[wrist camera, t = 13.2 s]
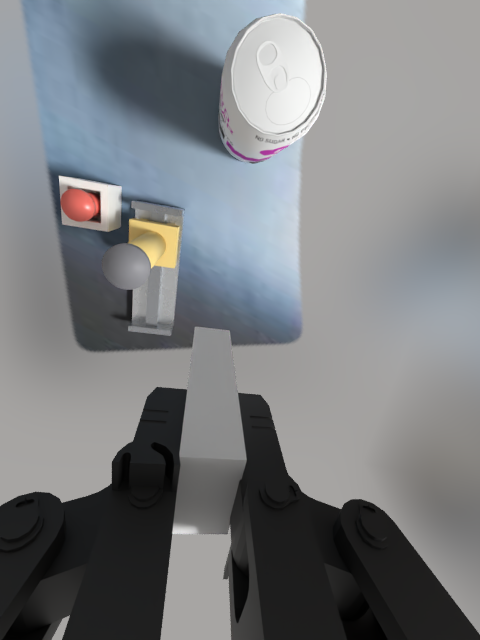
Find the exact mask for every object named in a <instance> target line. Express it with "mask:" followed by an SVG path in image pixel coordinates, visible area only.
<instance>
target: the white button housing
mask: <svg viewBox="0 0 480 640" xmlns="http://www.w3.org/2000/svg"><path fill="white" fill-rule="evenodd" d="M59 185H60V200H61V196H62V194H63V193H64V192H65V191H67V190H69V189H80V190H83V191H85V192H93V193H97V194H99V195H100V196H101V215H99V216H93V217H92V218H91V219H90V220H87V221H83V222H78V221H74V220H72V219H70V218H69V217H68V216H67V215H66V214H65V213H64V212H63V210H62V207H61V215H62V224H63V225H70V226H76V227H82V228H88V229H94V230H100V231H106V232H109V231H112V230H115V229H118V228H121V186H117V185H112V184H107V183H101V182H96V181H91V180H86V179H80V178H73V177H65V176H59Z"/></svg>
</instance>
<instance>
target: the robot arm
mask: <svg viewBox="0 0 480 640" xmlns="http://www.w3.org/2000/svg"><path fill="white" fill-rule="evenodd" d="M229 526H230V527H231V547H230V551H229V554H228V558H227V561H226V565H225V570H224V578H223V579H228V576H229V594H230V616H231V640H480V635H479V633H478V632H477V631H476V629H475V628H474V626H473V625H472V624H471V623H470V621H469V620H468V619H467V617H466V616H465V615H464V613H463V612H462V611H461V609H460V608H459V607H458V605H457V604H456V603H455V602H454V600H453V599H452V598H451V596H450V595H449V594H448V592H447V591H446V590H445V588H444V587H443V586H442V584H441V583H440V582H439V581H438V579H437V578H436V576H435V575H434V574H433V573H432V571H431V570H430V569H429V567H428V566H427V565H426V563H425V562H424V561H423V559H422V558H421V557H420V555H419V554H418V553H417V551H416V550H415V549H414V547H413V546H412V545H411V544H410V542H409V541H408V540H407V538H406V537H405V536H404V534H403V533H402V532H401V530H400V529H399V528H398V526H397V525H396V524H395V522H394V521H393V520H392V519H391V518H390V517H389V516H388V515H387V514H386V513H385V512H384V511H383V510H381V509H380V508H379V507H377V506H376V505H374V504H373V503H370V502H367V501H364V500H362V499H353V500H350V501H348V502H346V503H345V504H344V505H343V507H342V509H339V508H336V507H333V506H331V505H328V504H325V503H322V502H319V501H317V500H315V499H313V498H310V497H308V496H307V495H306V494H304V493H303V492H301V490H300V488H299V486H298V484H297V483H296V482H294V480H293V479H292V478H291V477H290V476H289V475H288V473H287V470H286V467H285V463H284V460H283V456H282V452H281V448H280V445H279V441H278V437H277V434H276V430H275V426H274V423H273V420H272V415H271V412H270V408H269V405H268V404H267V403H266V401H265V400H264V399H263V398H262V396H261V395H255V394H244V393H238V390H237V383H236V376H235V368H234V360H233V353H232V345H231V338H230V331H228V330H219V329H211V328H203V327H195V332H194V340H193V347H192V355H191V364H190V372H189V379H188V387H187V390H186V389H174V388H162V387H157V388H156V389H155V390H154V391H153V392H152V393H151V394H150V395H149V396H148V397H147V399H146V403H145V406H144V409H143V412H142V415H141V418H140V422H139V425H138V428H137V431H136V434H135V437H134V440H133V442H131V443H128V444H127V445H126V446H125V447H123V448H122V449H121V450H120V451H119V452H118V453H117V455H116V456H115V458H114V459H113V461H112V484H110V485H109V486H108V487H106V488H104V489H103V490H101V491H99V492H97V493H95V494H92V495H89V496H86V497H82V498H78V499H75V500H71V501H68V502H63V503H61V501H60V499H59V498H57V497H56V496H54V495H52V494H50V493H44V492H33V493H29V494H26V495H21V496H18V497H16V498H14V499H12V500H10V501H8V502H7V503H5V504H3V505H1V506H0V640H51V639H52V637H53V636H54V634H55V632H56V630H57V628H58V626H59V624H60V622H61V621H62V619H63V618H65V617H67V616H69V615H70V618H69V621H68V624H67V627H66V630H65V633H64V636H63V639H62V640H160V637H161V628H162V619H163V610H164V601H165V593H166V584H167V575H168V566H169V557H170V549H171V540H172V534H228V530H229Z"/></svg>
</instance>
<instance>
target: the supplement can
mask: <svg viewBox="0 0 480 640" xmlns="http://www.w3.org/2000/svg"><path fill="white" fill-rule="evenodd" d="M326 76H327V73H326V64H325V60H324V55H323V51H322V46H321V45H320V43H319V41H318V39H317V38H316V36H315V34H314V32H313V31H312V29H311V28H310V27H308V26H307V25H306V24H305V23H303V22H302V21H301V20H300V19H299V18H297V17H293V16H289V15H285V14H281V13H279V14H273V15H269V16H265V17H261V18H256V19H255V20H254V21H252V22H251V23H250V24H249V25H247V26H246V27H245V28H244V29H242V30H241V31H240V32H239V33H238V35H237V36H236V38H235V40H234V41H233V43H232V45H231V46H230V48H229V50H228V52H227V55H226V59H225V64H224V68H223V72H222V78H221V90H220V102H219V113H218V124H219V134H220V136H221V139H222V142H223V144H224V146H225V147H226V149H227V150H228V151H229V153H230V154H231V155H232V156H233V157H235V158H237V159H238V160H240V161H242V162H246V163H252V164H254V163H259V162H263V161H266V160H267V159H269V158H270V157H272V156H273V155H275V154H277V153H278V152H280V151H281V150H283V149H284V148H286V147H288V146H289V145H291V144H292V143H294V142H295V141H296V140H298V139H299V138H301V137H302V136H304V135H305V134H306V133H307V132H308V130H309V129H310V128H311V126H312V124H313V123H314V122H315V121H316V119H317V118H318V116H319V113H320V110H321V107H322V104H323V101H324V99H325V92H326Z"/></svg>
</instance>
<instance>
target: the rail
mask: <svg viewBox="0 0 480 640" xmlns="http://www.w3.org/2000/svg"><path fill="white" fill-rule="evenodd" d="M131 208H134V209H135V218H137V219H140V218H143V219H149V221H154V222H160V223H165V224H167V223H172V224H176V225H177V226H180V228H179V240H178V251H177V262H176V266H175V268H168V267H161V266H155V265H154V266H153V267H152V269H151V273H150V276H149V278H148V279H147V281H146V282H145V283H144V284H143V285H142V286H140V287H139V288H136V289H133V305H132V321H131V323H130V324H129V326H128V331H133V332H142V333H151V334H160V335H168V336H171V334H172V330H173V327H174V316H175V306H176V295H177V285H178V274H179V264H180V253H181V242H182V232H183V221H184V211H185V209H181V208H176V207H171V206H165V205H160V204H154V203H149V202H143V201H138V200H137V201H132V202H131Z"/></svg>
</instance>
